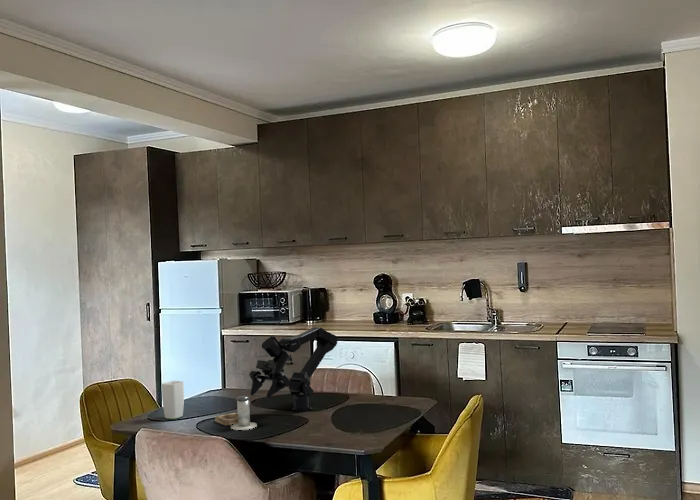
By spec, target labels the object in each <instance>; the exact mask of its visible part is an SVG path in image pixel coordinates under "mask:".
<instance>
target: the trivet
mask: <svg viewBox="0 0 700 500" xmlns="http://www.w3.org/2000/svg"><path fill="white" fill-rule="evenodd" d="M255 427H256V428H257V427H258V424H257V423H256V422H251V421H250V426H248V427H239V426H238V423H237V424H233V425H230V429H231V430H232V429H233V430H232V431H238V430H242V431H250V430H253V428H254V429H256V428H255ZM249 429H250V430H249Z"/></svg>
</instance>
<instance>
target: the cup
mask: <svg viewBox="0 0 700 500" xmlns="http://www.w3.org/2000/svg"><path fill="white" fill-rule="evenodd" d="M184 385H185V384H184V381H182V380H181V381H179V380H170V381H166V382H163V383H161V398H162V399H161V401H162V407H163V412H164V418H165V419H167V420H177V419H180V418H182V417H183V415H184V404H185V403H184V402H185V395H184V394H185V392H184V391H185V390H184V389H185V388H184Z"/></svg>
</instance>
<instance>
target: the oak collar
mask: <svg viewBox="0 0 700 500" xmlns="http://www.w3.org/2000/svg"><path fill="white" fill-rule="evenodd" d="M214 417H215V422H216V423H218V424H221V425H224V426H226V427H228V426H232V424H233V425H234V424H237V423H238V411H237V412H233V413H232V412H231V413H228V414H222V415H215V416H214ZM227 425H228V426H227Z"/></svg>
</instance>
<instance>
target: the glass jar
mask: <svg viewBox="0 0 700 500" xmlns="http://www.w3.org/2000/svg"><path fill="white" fill-rule="evenodd" d="M236 402H237V412H238V426H239V427H248V426H250V422H251V415H250V414H251V413H250V412H251V411H250V396H249V395H239V396H236Z"/></svg>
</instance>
